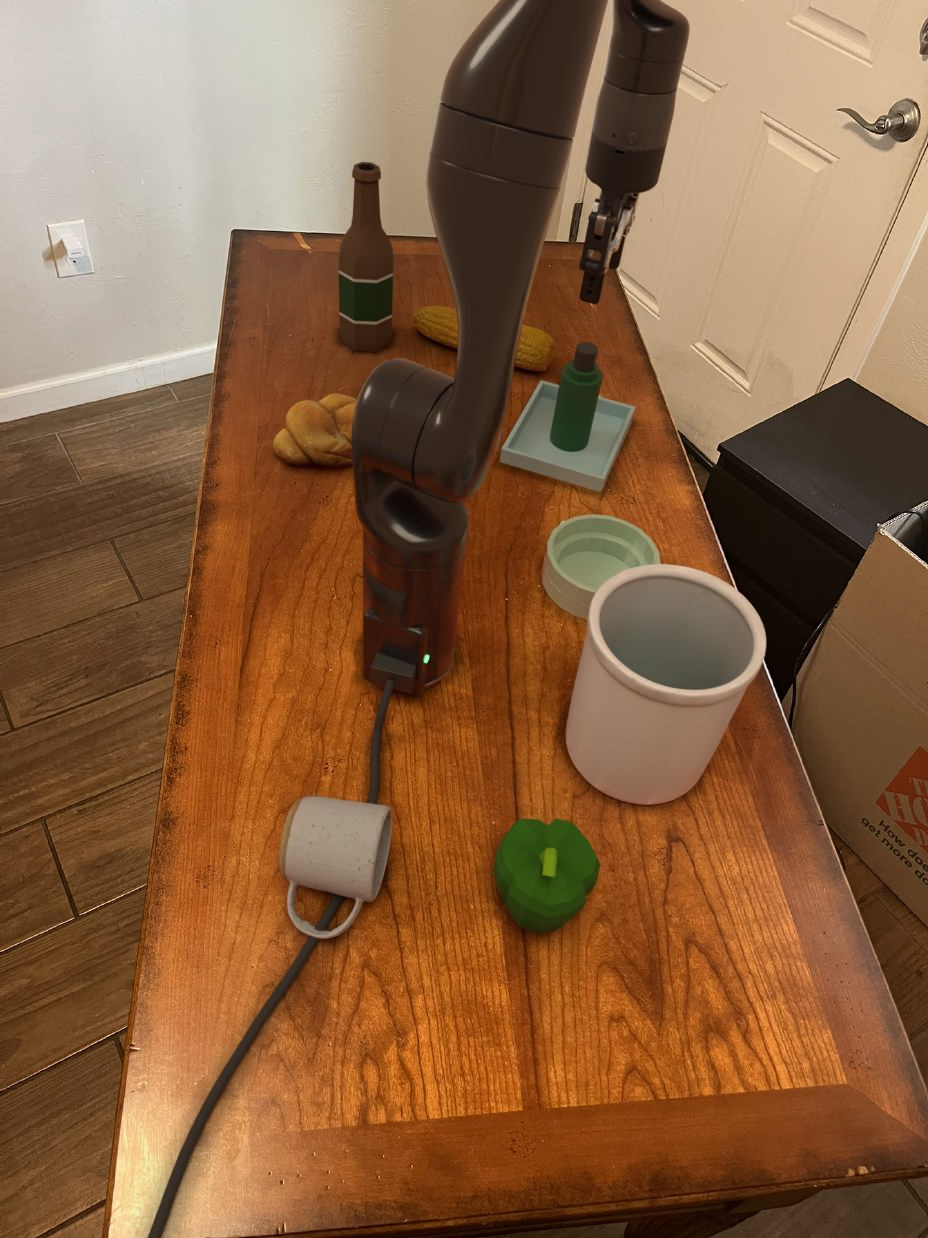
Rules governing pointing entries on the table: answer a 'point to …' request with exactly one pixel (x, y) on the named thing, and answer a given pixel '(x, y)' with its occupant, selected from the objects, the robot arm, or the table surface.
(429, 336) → the food
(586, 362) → the bottle
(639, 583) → the utensil holder
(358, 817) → the ceramic mug
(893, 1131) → the table surface
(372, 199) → the beer bottle
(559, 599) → the bowl
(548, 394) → the tray
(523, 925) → the bell pepper
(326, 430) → the bread roll
